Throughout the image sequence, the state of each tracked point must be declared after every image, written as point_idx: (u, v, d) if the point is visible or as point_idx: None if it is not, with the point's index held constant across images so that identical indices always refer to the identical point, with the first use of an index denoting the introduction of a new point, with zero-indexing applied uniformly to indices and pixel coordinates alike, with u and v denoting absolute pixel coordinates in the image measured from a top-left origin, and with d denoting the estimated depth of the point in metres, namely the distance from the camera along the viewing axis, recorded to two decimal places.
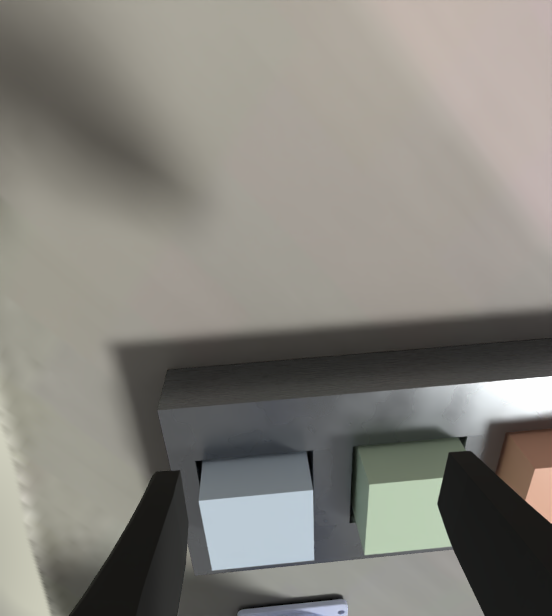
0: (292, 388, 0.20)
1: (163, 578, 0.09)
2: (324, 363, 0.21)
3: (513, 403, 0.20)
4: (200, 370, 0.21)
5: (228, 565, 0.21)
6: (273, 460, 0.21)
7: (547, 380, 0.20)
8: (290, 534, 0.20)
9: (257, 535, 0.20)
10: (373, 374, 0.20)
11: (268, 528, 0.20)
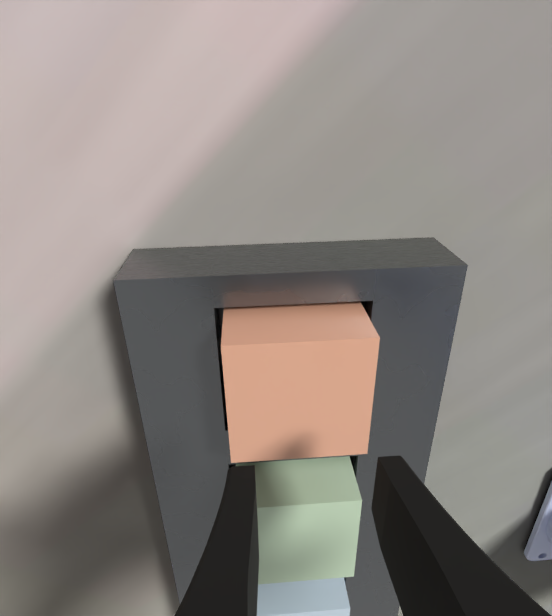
0: None
1: (252, 571, 0.09)
2: None
3: (180, 433, 0.18)
4: None
5: None
6: None
7: (145, 408, 0.17)
8: None
9: None
10: None
11: None
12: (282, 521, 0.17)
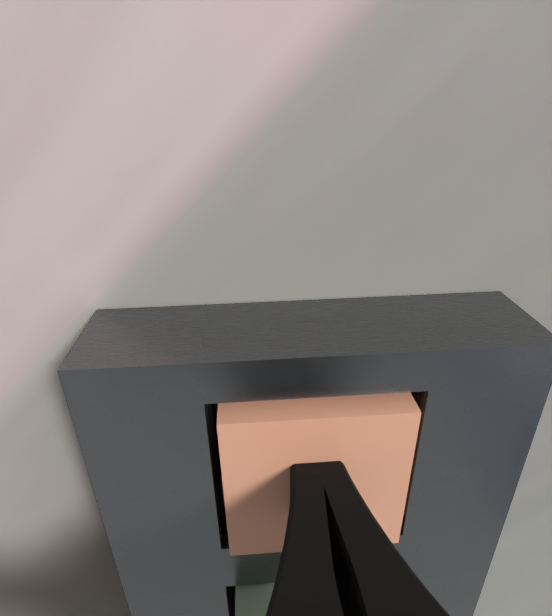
0: None
1: None
2: None
3: (160, 553, 0.13)
4: None
5: None
6: None
7: (113, 526, 0.12)
8: None
9: None
10: None
11: None
12: None
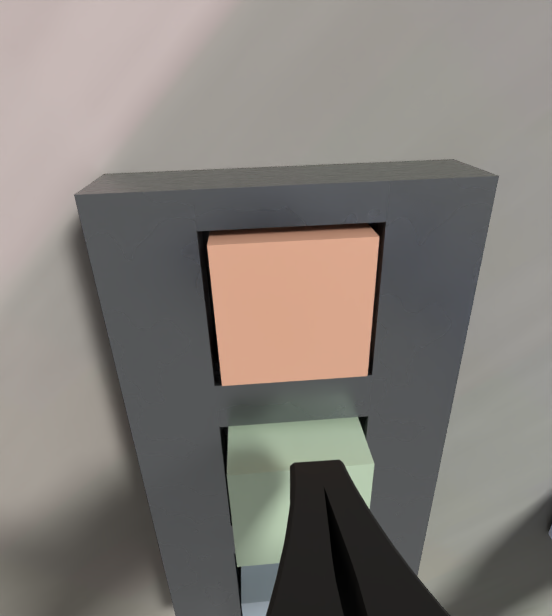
0: None
1: None
2: None
3: (162, 389, 0.15)
4: None
5: None
6: None
7: (121, 359, 0.14)
8: None
9: None
10: None
11: None
12: (282, 490, 0.15)
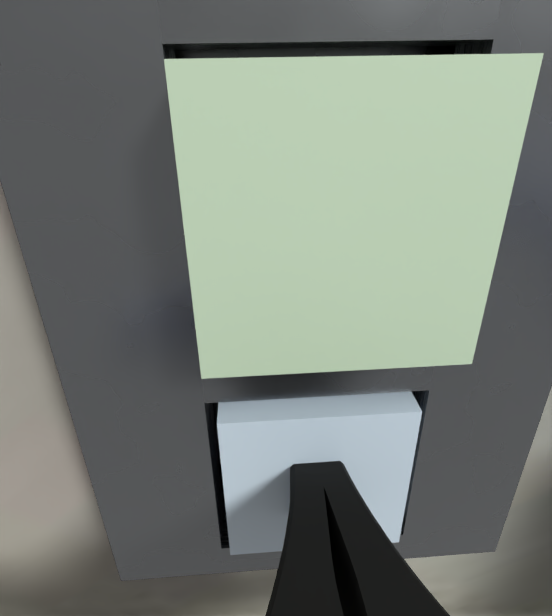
0: None
1: None
2: None
3: None
4: None
5: (393, 524, 0.13)
6: None
7: None
8: (333, 450, 0.11)
9: None
10: None
11: None
12: (307, 134, 0.06)
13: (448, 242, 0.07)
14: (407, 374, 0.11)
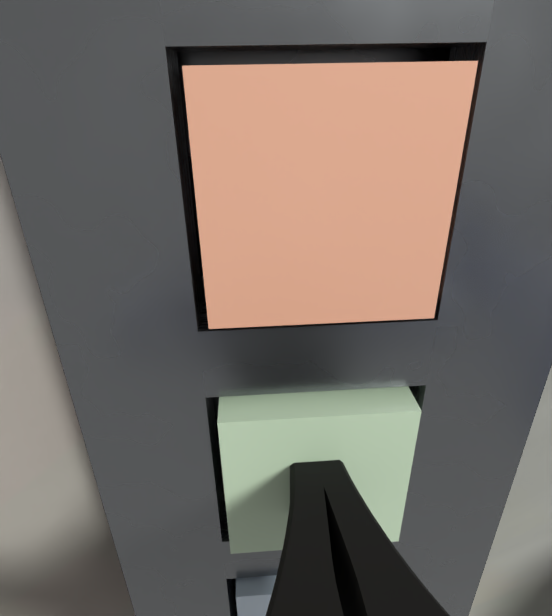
0: None
1: None
2: None
3: (117, 335, 0.10)
4: None
5: None
6: None
7: (49, 282, 0.09)
8: None
9: None
10: None
11: None
12: (293, 447, 0.11)
13: (377, 487, 0.12)
14: None
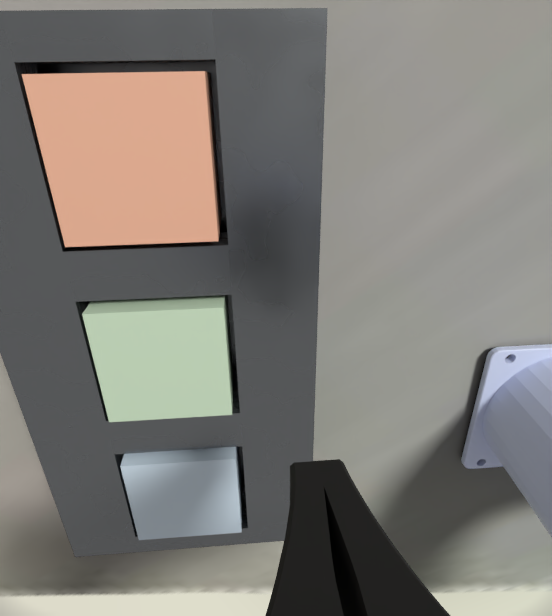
0: None
1: None
2: None
3: (7, 253, 0.15)
4: None
5: (235, 521, 0.21)
6: None
7: None
8: (189, 479, 0.20)
9: (188, 503, 0.20)
10: None
11: (179, 495, 0.20)
12: (139, 334, 0.16)
13: (206, 368, 0.17)
14: (227, 438, 0.19)
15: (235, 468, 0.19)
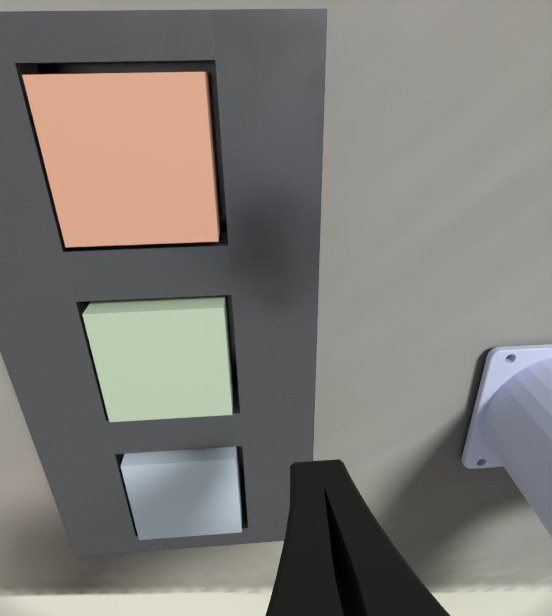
0: None
1: None
2: None
3: (8, 253, 0.15)
4: None
5: (235, 521, 0.21)
6: None
7: None
8: (189, 479, 0.20)
9: (189, 502, 0.20)
10: None
11: (179, 495, 0.20)
12: (139, 334, 0.16)
13: (206, 368, 0.17)
14: (227, 438, 0.19)
15: (235, 468, 0.19)
